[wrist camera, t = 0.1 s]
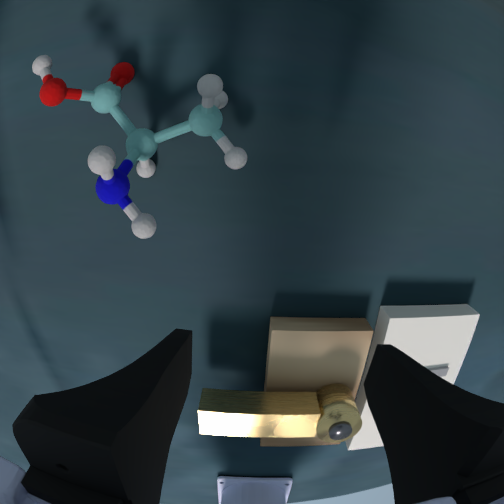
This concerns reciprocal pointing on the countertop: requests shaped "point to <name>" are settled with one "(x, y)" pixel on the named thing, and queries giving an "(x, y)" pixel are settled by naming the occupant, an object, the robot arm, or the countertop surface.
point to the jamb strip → (314, 359)
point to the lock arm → (281, 413)
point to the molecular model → (138, 134)
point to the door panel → (417, 349)
